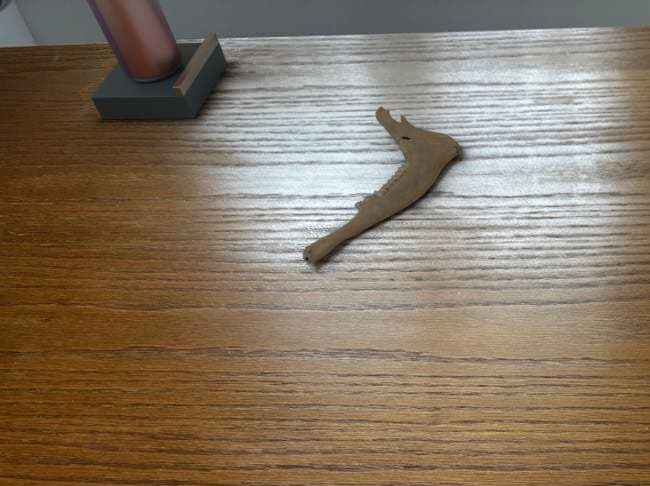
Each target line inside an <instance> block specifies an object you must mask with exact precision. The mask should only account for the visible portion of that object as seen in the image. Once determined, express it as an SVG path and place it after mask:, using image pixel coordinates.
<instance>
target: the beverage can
mask: <svg viewBox="0 0 650 486" xmlns="http://www.w3.org/2000/svg"><path fill="white" fill-rule="evenodd" d="M86 3H87V5H88V6H89V8H90V10H91V12H92V14H93V16H94V18H95V19H96V21H97V24H98V25H99V28H100V29H101V31H102V33H103V36H104V38H105V39H106V41H107V43H108V45H109V47H110V49H111V51H112V52H113V54H114V57H115V59H116V61H117V63H118V62H119V64H120V66H121V68H122V70H123V72H124V74H125V75H126V76H128V77H129V78H131V79H132V80H134V81H137V82H141V83H149V82H156V81H159V80H162V79H165V78H167V77H169V76H171V75H172V74H174V73H175V72H176V71H177V70H178V69H179V67H180V65H181V61H182V53H181V51H180V49H179V47H178V44H177V43H178V42H177V40H176V38H175V36H174V33H173V31H172V29H171V27H170V24H169V21H168V20H167V18H166V16H165V13H164V11H163V9H162V6H161V5H160V2H159V0H86Z"/></svg>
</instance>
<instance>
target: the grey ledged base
mask: <svg viewBox="0 0 650 486" xmlns="http://www.w3.org/2000/svg"><path fill="white" fill-rule="evenodd" d="M177 44H178V47H179V49H180V51H181V53H182V61H181V65H180V67H179V69H178V70H177V71H176V72H175V73H174V74H172V75H171V76H169V77H167V78H165V79H162V80H159V81H156V82H149V83H141V82H137V81H134V80H132V79H131V78H129V77H128V76H126V75H125V74H124V72H123V70H122V68H121V66H120V64H119V62H118V61H117V63H116V64H115V65H114V67H112V69H111V71H109V73H108V74H107V76H106V77H105V78H104V80H102V82H101V83H100V85H99V86H98V87H97V88H96V90H95V91H94V92H93V94H92V95H91V96H90V99H91V100H92V102H93V104H94V106H95V108H96V109H97V112H98V113H99V115H100V117H101V118H102V119H103V120H154V119H155V120H168V119H172V120H173V119H174V120H175V119H176V120H177V119H179V120H180V119H183V120H185V119H186V120H187V119H188V120H189V119H195V118H196V117H197V115H198V113H199V112H200V110H201V109H202V107H203V105H204V103H205V102H206V100H207V99H208V97H209V96H210V94H211V92H212V91H213V89H214V87H215V86H216V84H218V83H217V82H218V81H219V79H220V78H221V76H222V74H223V73H224V71H225V70H226V68H227V66H228V65H229V64H228V61H227V59H226V56H225V53H224V51H223V48H222V46H221V44H220V41H219V39H218V36H217V33H216V32H214V33H213V32H209V33H207V34H206V36H205V38H204V39H203V41H202V42H177Z"/></svg>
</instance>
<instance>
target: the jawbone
mask: <svg viewBox="0 0 650 486" xmlns="http://www.w3.org/2000/svg"><path fill="white" fill-rule="evenodd" d="M390 113H391V110H390V109H386V108H384V107H383V106H379V107H378V108H377V109H376V110H375V113H374V115H375V119H376V121H377V122H378V123H379V125H381V126H382V127H383V129H385V131H386V132H387V133H388V134H389V135H390V136H391V137H392V138H393V139H394V141H395V142H397V145H398V146H399V148H400V150H401V153H402V155H403V158H404V162H403V163H400V166H398V167H397V170H396V171H394V175H391V178H390V179H387V181H386V182H385V183H384V184H382V186H381V187H380V188H379V189H378V190H374V191H373V193H372V194H369V195H366V196H364V198H363V200H359V201H356V202H355V203H354V208H355V209H357V210H358V211H357V213H356V215H354V216H353V217H352V218H351V219H350V220H349V221H348V222H346V223H345V224H343V225H342V226H341V227H339V228H337V229H336V230H334V231H333V232H330V233H328V234H327V235H325V236H323V237H320V238H319V239H317V240H316V241H314V242H312V243H311V244H309V245H306V246H305V248H304V250H302V259H303V260H304V261H305V263H306V266H308V265H310V264H312V263H314V262H316V261H319V260H320V259H322V258H324V257H325V256H327V255H328V254H329V253H330V252H332V250H334V249H335V247H338V245H339V244H341V243H342V242H343V241H346V240H347V239H350V238H352V237H354V236H356V235H357V234H359V233H362V232H363V231H365V230H367V229H368V228H370V227H372V226H374V225H376V224H378V223H381V222H382V221H383V220H386V219H388V218H389V217H391V216H393V215H394V214H395V215H396V214H397V213H398V212H400V211H402V210H403V209H405V208H407V207H409V206H410V205H412V204H413V203H415V202H417V201H418V200H419V199H420V198H422V197H423V196H424V194H425V193H426V192H428V190H429V189H430V188H431V187H432V185H433V184H434V183H435V182H436V180H437V179H438V177H439V175H440V173H441V171H442V170H443V168H444V167H445V166H446V165H447V164H448V163H449V162H451V160H453V159H454V158H455V157H457V156H458V154H459V153H460V144H459V141H457V140H456V139H454V137H453V136H450V135H448V134H445V133H443V132H438V131H431V130H427V129H423V128H420V127H417V126H415V125H414V124H411V122H409V120H408V119H407V118H406V116H404V115H403V114H401V115H400V121H397V120H395V119H394V118H393V117H392V116H391V114H390Z"/></svg>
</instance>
